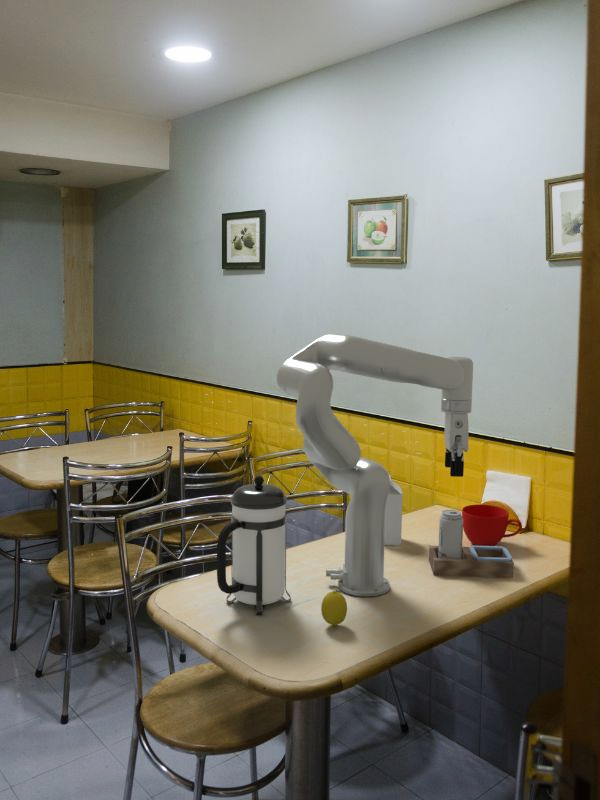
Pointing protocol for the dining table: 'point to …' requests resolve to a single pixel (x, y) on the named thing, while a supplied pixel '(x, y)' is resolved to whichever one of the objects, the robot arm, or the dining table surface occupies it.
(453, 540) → the energy drink can
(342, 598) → the lemon
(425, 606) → the dining table surface
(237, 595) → the coffee press
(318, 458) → the robot arm
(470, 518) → the ceramic cup
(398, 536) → the milk carton
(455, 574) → the block
